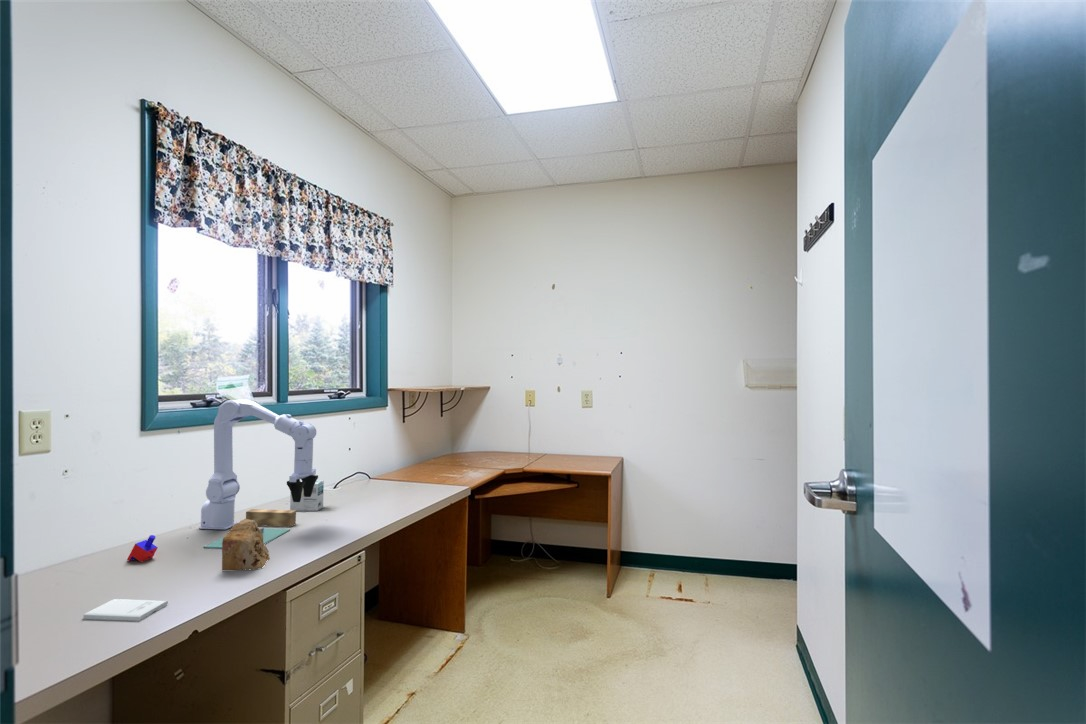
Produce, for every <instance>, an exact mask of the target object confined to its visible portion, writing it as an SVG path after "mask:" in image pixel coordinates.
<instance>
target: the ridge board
mask: <svg viewBox="0 0 1086 724" xmlns="http://www.w3.org/2000/svg"><path fill="white" fill-rule="evenodd" d="M258 528H259V530H261V532H262V534H263V537H264V538H263V542H264V544H265V543H266V544H268V543H270V542H272V541H274V540H276V539H277V538H279V537H281V536H283V535H285V534H287V532H290V531H291V529H290V528H267V527H266V528H264V527H260V526H258ZM278 536H279V537H278ZM224 537H225V536H223V537H221V538H219V539H218V540H215V541H213V542H210V543H209V544H207V545H204V546H203V549H218V548H222V542H223V538H224ZM273 539H274V540H273ZM271 540H272V541H271ZM269 541H270V542H269ZM267 542H268V543H267ZM266 544H265V545H266Z"/></svg>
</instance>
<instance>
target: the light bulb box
mask: <svg viewBox="0 0 1086 724" xmlns="http://www.w3.org/2000/svg"><path fill="white" fill-rule="evenodd" d="M300 481H301V482H302V480H300ZM324 483H325V481H324V480H316V482H315V485H314V488H313V491H312V495H311V497H304V491H303V489H302V495H301V500H300V502H293V499H292V495H291V494H290V501H289V502H290V503H289V504H290V505H289V510H296V512H317V511H319V510H321V509H322V508H324V487H325V486H324Z"/></svg>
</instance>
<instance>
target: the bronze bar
mask: <svg viewBox="0 0 1086 724" xmlns="http://www.w3.org/2000/svg"><path fill="white" fill-rule="evenodd" d="M245 519H249V520H254V521H255V523H257V525H267V526H266V527H281V526H287V528H289V527H290V526H291V527H293V526H294V524H295V525H296V524H297V523H296V521H297V511H296V510H290V509H261V508H260V509H257V508H253V509H252V508H251V509H249V510H247V511H246V512H245ZM292 525H293V526H292ZM288 526H289V527H288ZM291 527H290V528H291Z"/></svg>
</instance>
